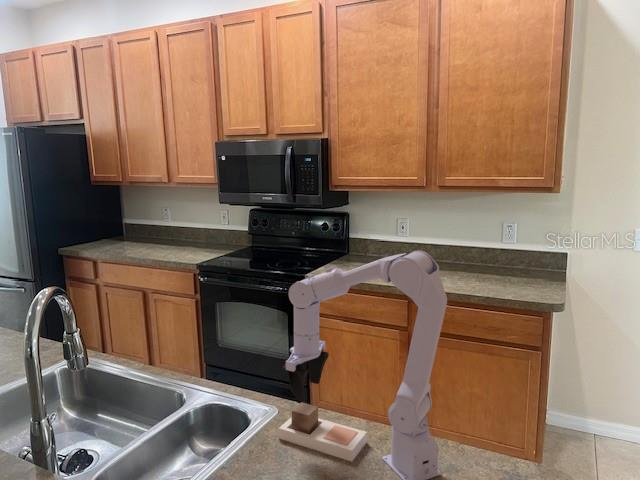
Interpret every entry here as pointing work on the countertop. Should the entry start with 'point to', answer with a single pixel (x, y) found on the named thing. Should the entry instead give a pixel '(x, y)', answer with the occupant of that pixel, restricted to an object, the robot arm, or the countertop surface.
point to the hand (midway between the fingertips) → (306, 389)
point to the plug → (305, 418)
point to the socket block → (327, 438)
